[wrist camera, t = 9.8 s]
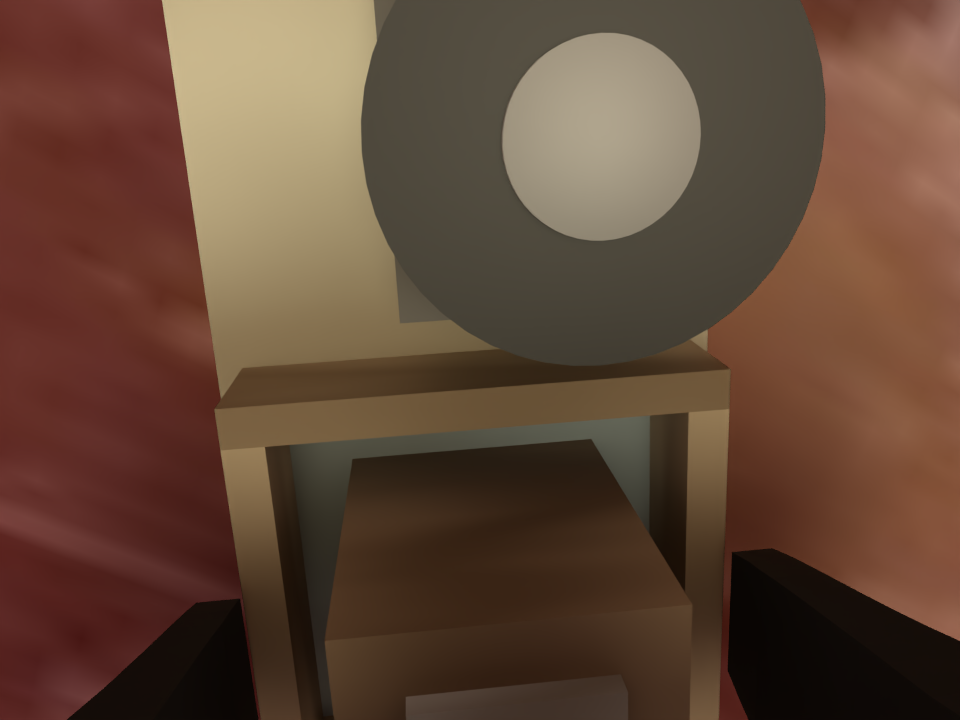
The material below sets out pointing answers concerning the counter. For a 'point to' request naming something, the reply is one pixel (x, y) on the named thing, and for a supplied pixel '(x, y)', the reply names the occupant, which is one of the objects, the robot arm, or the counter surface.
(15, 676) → the counter surface
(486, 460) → the wooden block
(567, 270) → the wheel
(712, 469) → the chassis board
